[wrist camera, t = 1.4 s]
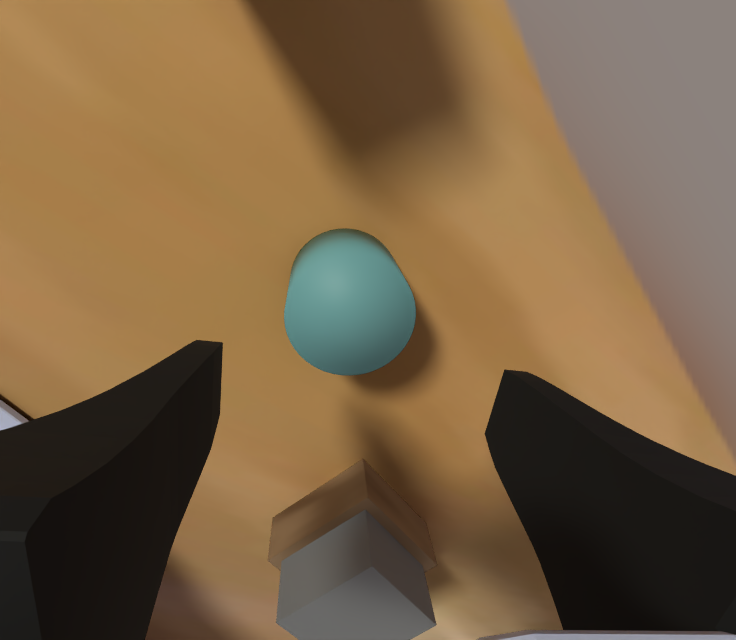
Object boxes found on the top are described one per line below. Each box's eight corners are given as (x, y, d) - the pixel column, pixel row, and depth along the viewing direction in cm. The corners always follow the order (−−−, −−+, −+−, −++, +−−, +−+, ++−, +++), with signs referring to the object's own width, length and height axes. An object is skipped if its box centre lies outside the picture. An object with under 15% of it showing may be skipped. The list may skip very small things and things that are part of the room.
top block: (343, 611, 24) (346, 674, 21) (281, 561, 22) (276, 622, 19) (422, 565, 23) (436, 625, 20) (365, 509, 21) (372, 566, 19)
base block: (341, 569, 27) (343, 620, 24) (273, 512, 25) (267, 560, 22) (424, 518, 26) (437, 565, 23) (362, 454, 24) (368, 497, 21)
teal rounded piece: (334, 349, 21) (338, 397, 17) (267, 272, 19) (256, 307, 16) (417, 290, 20) (440, 327, 17) (355, 205, 18) (365, 225, 15)
